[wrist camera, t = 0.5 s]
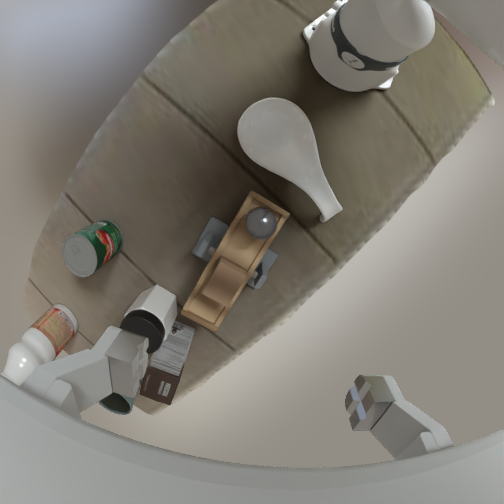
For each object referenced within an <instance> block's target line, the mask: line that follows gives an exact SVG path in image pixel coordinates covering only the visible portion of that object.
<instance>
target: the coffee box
mask: <svg viewBox="0 0 504 504" xmlns="http://www.w3.org/2000/svg"><path fill="white" fill-rule="evenodd" d="M194 332H195V328H193V327H191V326H188V325H185V324H183V323H180V322H177V321H174V323H173V325H172V328H171V330H170V332H169V334H168V336H167V339H166V340H164V341H163V342H162V344H161V346H160V348H159V349H158V350H157V351H155V352H153V354H152V356H151V358H150V360H149V362H148V365H147V369H146V372H145V375H144V378H143V381H142V385H141V389H140V395H143V396H145V397H148V398H150V399H153V400H155V401H158V402H162V403H165V404H167V405H170V404H171V402H172V399H173V397H174V394H175V391H176V389H177V386H178V383H179V381H180V377H181V374H182V371H183V368H184V364H185V361H186V358H187V355H188V352H189V348H190V345H191V342H192V339H193V336H194Z"/></svg>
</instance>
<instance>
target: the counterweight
mask: <svg viewBox="0 0 504 504" xmlns="http://www.w3.org/2000/svg"><path fill="white" fill-rule="evenodd" d="M246 227H247V230H248V232H249V234H250V235H251V236H252V237H254V238H256V239H259V240H264V239H268V238H270V237H271V236H272V235H273V234H274V233H275V231H276V229H277V220H276V218H275V216H274V215H273V214H272V213H271V212H270V211H269V210H268V209H266V208H264V207H255V208H253V209H251V210H250V211H249V212H248V213H247V215H246Z"/></svg>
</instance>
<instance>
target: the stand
mask: <svg viewBox="0 0 504 504" xmlns="http://www.w3.org/2000/svg"><path fill="white" fill-rule="evenodd" d="M228 228H229V225H227V224H226V223H224V222H222V221H220V220H219V219H217V218H215V217H213V216H212V217H211V218H210V220H209V222H208V224H207V225H206V227H205V229H204V231H203V233H202V234H201V236H200V238H199V240H198V241H197V243H196V245H195V247H194V249H193V251H192V252H191V253H192V254H194V255H196V256H198V257H199V258H201V259H203V260H205V261H206V262H209V261H210V259H211V257H212V256H211V255H209V254H207V251H208V250H209V248H210V246H212V247H214V248H215V249H217V247H218V245H219V243H220V242H221V240H222V238H223V237H224V235H225V233H226V231H227V230H228ZM277 257H278V254H277V253H275V252H273V251H272V250H270V249H267V251H266V252H265V254H264V256H263V257H262V259H261V260H260V262H259V264H258V265H257V267H256V268H255V270H254V271H256V272H258V275H257V277H256V278H255V279H254V280H253V279H252V278H249V279H248V281H247V283H246V284H248V285H249V286H251V287H253V288H255V289H258V290H259V289H260V288H261V287H262V285H263V284H264V282H265V281H266V279H267V278H268V273H267V272H268V270H269V269H270V267H271V266H272V264H273V263H274V261H275V260H276V258H277Z"/></svg>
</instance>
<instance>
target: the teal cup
mask: <svg viewBox="0 0 504 504" xmlns="http://www.w3.org/2000/svg"><path fill="white" fill-rule="evenodd" d="M140 380H141V379H140ZM140 380H139V384H140ZM135 396H136V395H135ZM134 399H135V397H134V398H130V397H127V396H124V395H121V394H118V393H115V392H112V394H110V395H108V396H107V397H105V398H103V399H102V400H100V401H98V402H99V404H100V405H102V406H103V407H104V408H106V409H107V410H109V411H111V412H113V413H116V414H122V415H125V414H129V413H130V412H131V410H132V407H133V403H134Z"/></svg>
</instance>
